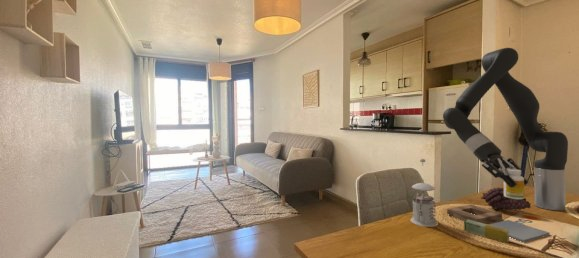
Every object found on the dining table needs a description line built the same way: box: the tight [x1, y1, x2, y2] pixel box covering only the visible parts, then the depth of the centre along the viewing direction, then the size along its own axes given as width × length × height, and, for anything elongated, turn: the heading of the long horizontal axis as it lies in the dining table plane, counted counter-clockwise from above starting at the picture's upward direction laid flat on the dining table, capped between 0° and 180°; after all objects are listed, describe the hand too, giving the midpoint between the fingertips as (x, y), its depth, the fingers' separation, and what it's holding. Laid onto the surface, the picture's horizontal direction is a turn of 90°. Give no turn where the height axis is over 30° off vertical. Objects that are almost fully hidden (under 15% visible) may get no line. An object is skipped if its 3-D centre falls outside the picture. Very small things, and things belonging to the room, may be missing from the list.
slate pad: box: [488, 219, 551, 243], centre depth 86 cm, size 14×12×1 cm
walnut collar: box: [446, 204, 503, 225], centre depth 99 cm, size 14×12×2 cm
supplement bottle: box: [502, 168, 525, 199], centre depth 86 cm, size 5×5×10 cm
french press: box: [410, 158, 438, 228], centre depth 96 cm, size 10×12×25 cm
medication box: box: [463, 219, 510, 244], centre depth 84 cm, size 12×3×4 cm, turn 35°
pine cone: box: [480, 187, 531, 211], centre depth 105 cm, size 18×10×10 cm, turn 23°
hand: (519, 185), depth 84 cm, fingers closed on supplement bottle, 5 cm apart
